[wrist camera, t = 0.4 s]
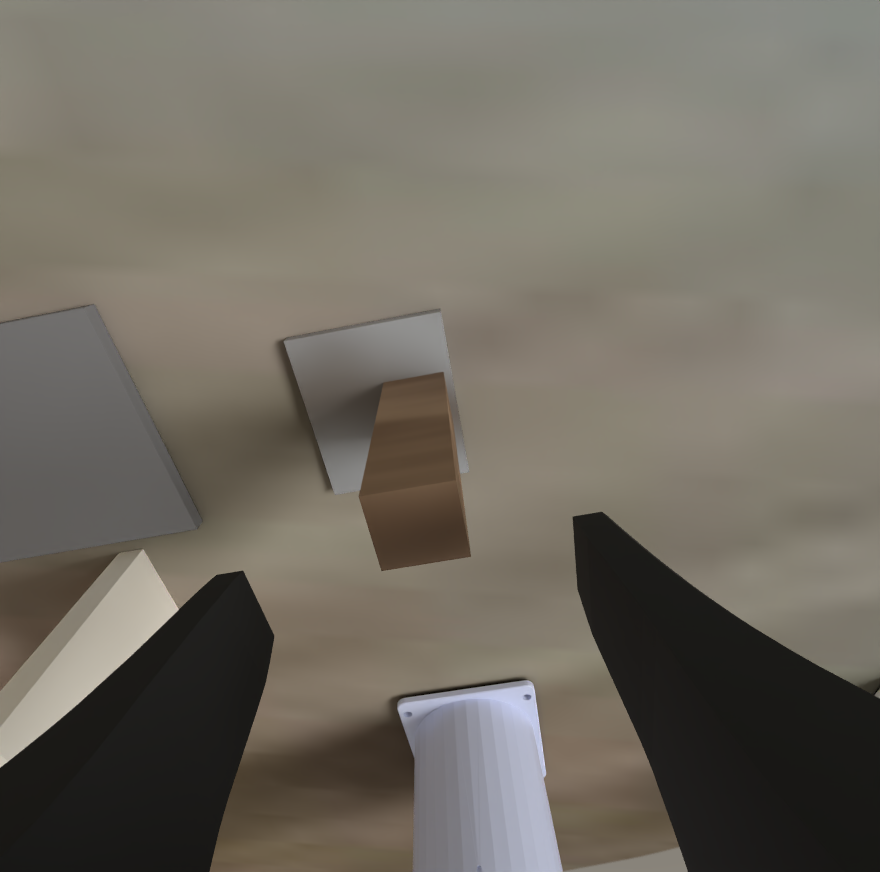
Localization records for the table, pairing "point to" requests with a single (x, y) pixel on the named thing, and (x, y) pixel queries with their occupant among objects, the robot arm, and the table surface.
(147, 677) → the robot arm
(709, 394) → the table surface
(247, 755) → the table surface
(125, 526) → the mat
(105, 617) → the tile
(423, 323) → the turner
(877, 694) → the jar
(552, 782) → the table surface
